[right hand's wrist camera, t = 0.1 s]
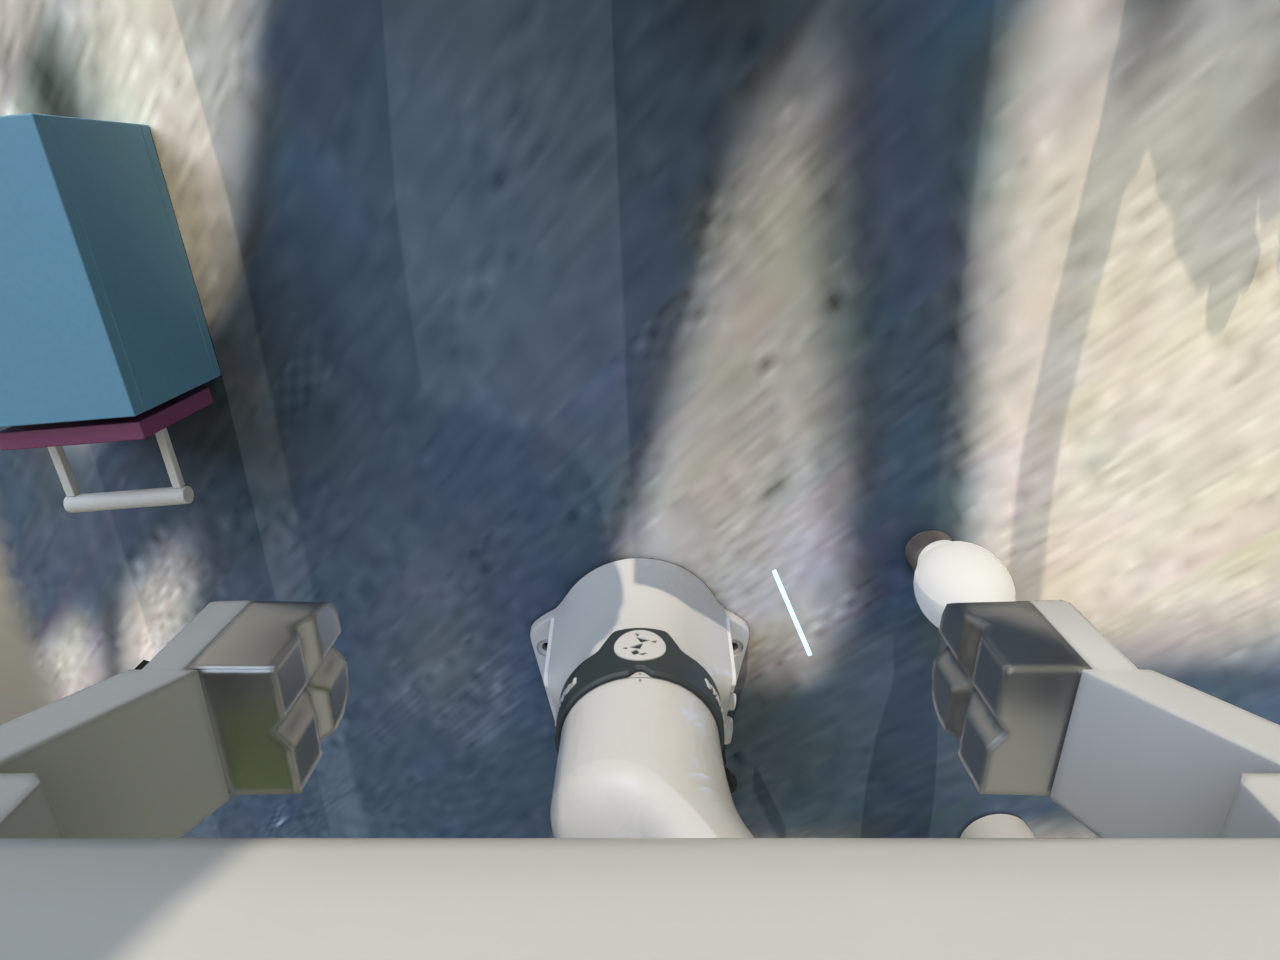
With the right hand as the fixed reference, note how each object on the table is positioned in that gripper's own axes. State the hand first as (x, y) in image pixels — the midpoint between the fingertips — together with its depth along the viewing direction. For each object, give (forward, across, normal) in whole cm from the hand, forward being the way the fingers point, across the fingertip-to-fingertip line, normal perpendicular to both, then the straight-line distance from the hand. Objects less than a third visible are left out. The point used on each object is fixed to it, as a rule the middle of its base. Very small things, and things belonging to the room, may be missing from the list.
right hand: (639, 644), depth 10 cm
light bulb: (+48, +24, -23) cm, 58 cm away
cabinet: (+48, -38, 0) cm, 61 cm away
